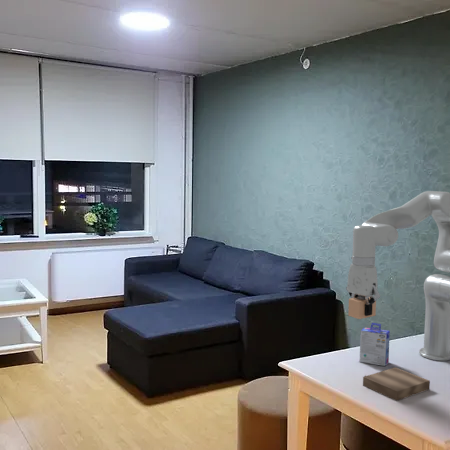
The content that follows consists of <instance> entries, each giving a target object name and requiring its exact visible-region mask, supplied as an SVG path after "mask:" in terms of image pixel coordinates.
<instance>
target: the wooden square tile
mask: <svg viewBox="0 0 450 450" xmlns="http://www.w3.org/2000/svg"><path fill="white" fill-rule="evenodd" d="M362 378H363V379H362V386H364V387H366V388H368V389H370V390H372V391H373V392H374V391H375V392H377V393H379V394H381V395H383V396H385V397H387V398H389V399H390V398H391V399H392V400H395V401H400V400H403V399H406V398H409V397H411V396H412V397H413V396H415V395H417V394H421V393H424V392H426V391H430V382H431V381H430V380H429V379H427V378H423V377H422V376H419V375H416V374H414V373H411V372H409V371H406V370H403V369H401V368H399V367H391V368H388V369H385V370H382V371H381V370H380V371H378V372H375V373H372V374H368V375H365V376H362Z"/></svg>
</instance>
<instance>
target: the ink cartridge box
mask: <svg viewBox="0 0 450 450" xmlns="http://www.w3.org/2000/svg"><path fill="white" fill-rule="evenodd" d="M376 326H378V327H376ZM381 327H382V323H377V322H371V324H370V327H363V328H362V329H361V330H360V339H359V361H358V362H360V363H366V364H371V365H377V366H383V367H385V366H387V365H388V364H389V362H390V361H389V360H390V358H389V357H390V337H391V335H390V330H387V329H382V328H381Z"/></svg>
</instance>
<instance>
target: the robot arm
mask: <svg viewBox="0 0 450 450" xmlns="http://www.w3.org/2000/svg"><path fill="white" fill-rule="evenodd" d="M430 216H431V217H432V219H433V220H434V221H435V224H436V226H437V228H438V239H437V243H436V246H435V247H436V248H435V252H434V258H433V265H434V268H436V269H437V270H438V271H441V272H445V273H450V192H449V191H440V190H438V191H436V190H426V191H423V192H421V193H419V194H418V195H416V196H415V197H413V198H412V199H410V200H409V201H407V202H405V203H404V204H403V205H401V206H398V207H395V208H392V209H391V208H390V209H388V210H386V211H383V212H379V213H377V214H375V215H373V216H371V217H369V219H367V220H365V221H364V222H363V223H362V224H361V225H360V224H358V225H355V226H354V227H353V230H352V256H351V257H350V258H351V261H352V262H351V263H350V266H349V269H348V274H347V275H348V276H347V286H346V287H345V291H346V292H347V293H348V295H349V296H350V298H356V297H358V295H361V296H365V300H366V304H365V313H364V315H365V316H369V315H372V304H374V302H375V301H376V302H377V300H378V299H380V298H381V294H380V293H379V291H378V273H377V266H376V247H390V246H393V245H394V244H396V242H397V241H398V239H399V233H398V229H399V230H404V229H409V228H413V227H416V226H417V225H418V224H420V223H421V222H422V221H424V220H426V219H427V218H429V217H430ZM423 292H424V301H425V313H424V332H423V333H424V334H423V335H424V336H423V338H424V339H423V347H422V348H420V349H419V350H418V351H419V352H418V354H419V355H420V356H421V357H424V358H426V359H428V360H434V361H442V362H444V361H445V362H446V361H450V275H444V274H440V273H434V274H429V275H427V276H426V278H425V280H424V282H423ZM369 297H370V300H369Z"/></svg>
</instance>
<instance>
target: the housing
mask: <svg viewBox="0 0 450 450" xmlns="http://www.w3.org/2000/svg"><path fill="white" fill-rule="evenodd" d="M369 300H370V297H369ZM365 304H366V300H365V296H361V295H358V297H356V298H351V297H350V298H348V311H347V312H348V314H347V315H348V317H351V318H354V319H357V320H361V319H367V318H371V317H375V316H376V313H377V311H376V309H377V300H376V301H375V302H374V304H372V315H369V316H365V315H364V313H365Z"/></svg>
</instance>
